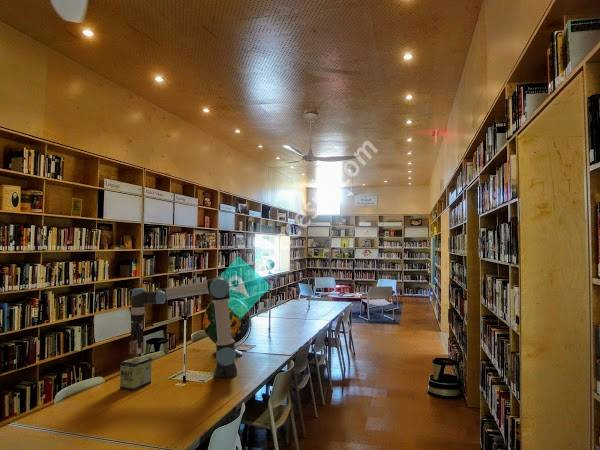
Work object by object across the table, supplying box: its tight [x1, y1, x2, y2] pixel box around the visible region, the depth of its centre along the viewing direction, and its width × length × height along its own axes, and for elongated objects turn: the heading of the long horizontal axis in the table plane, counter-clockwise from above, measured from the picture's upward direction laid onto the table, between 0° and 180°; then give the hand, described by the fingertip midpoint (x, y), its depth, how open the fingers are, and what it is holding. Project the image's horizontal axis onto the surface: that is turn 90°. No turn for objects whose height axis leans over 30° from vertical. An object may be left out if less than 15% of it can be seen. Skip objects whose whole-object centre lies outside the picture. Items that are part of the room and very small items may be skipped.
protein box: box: [119, 356, 153, 392], centre depth 248 cm, size 10×16×16 cm
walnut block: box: [129, 340, 145, 356], centre depth 249 cm, size 6×6×7 cm
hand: (136, 352), depth 248 cm, fingers closed on walnut block, 6 cm apart
